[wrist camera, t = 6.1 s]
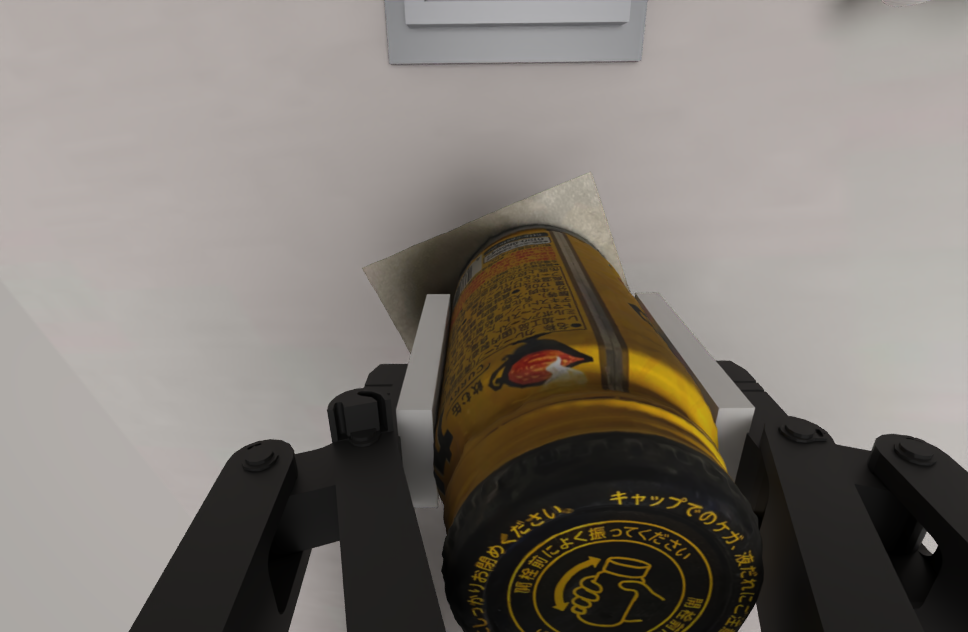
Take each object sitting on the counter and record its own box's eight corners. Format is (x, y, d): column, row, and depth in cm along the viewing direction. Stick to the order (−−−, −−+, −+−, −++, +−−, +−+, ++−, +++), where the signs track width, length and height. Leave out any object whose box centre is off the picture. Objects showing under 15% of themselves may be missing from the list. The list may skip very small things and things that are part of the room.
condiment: (648, 349, 20) (854, 676, 9) (448, 420, 21) (411, 781, 10) (589, 169, 17) (782, 321, 6) (363, 264, 18) (187, 529, 7)
